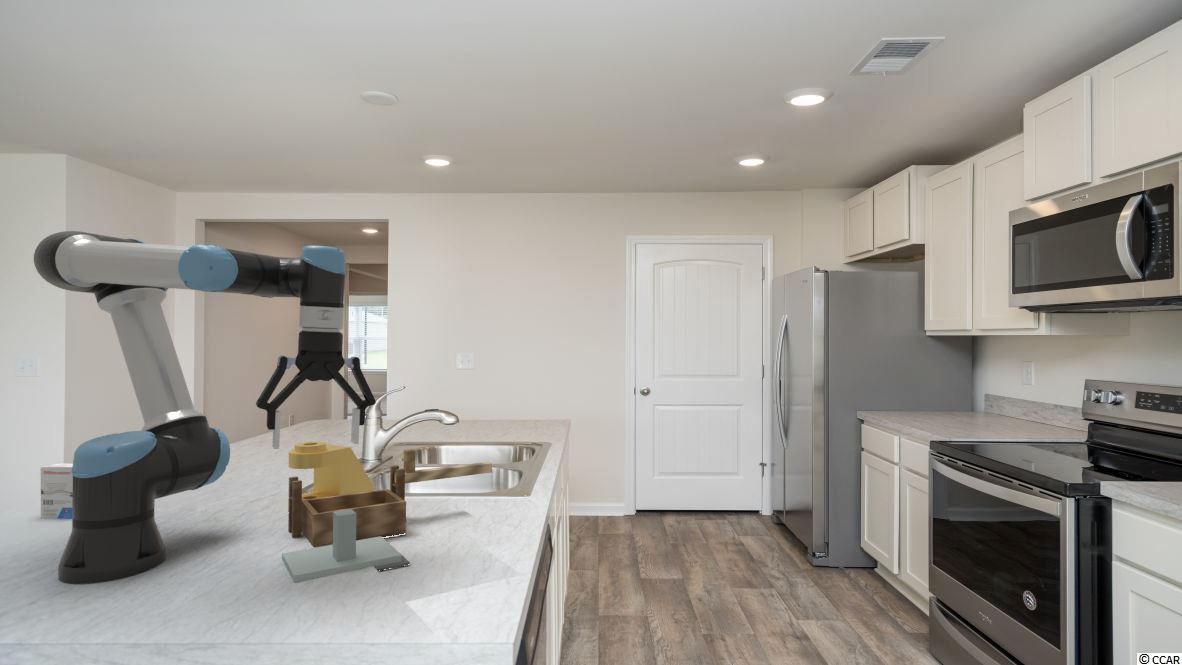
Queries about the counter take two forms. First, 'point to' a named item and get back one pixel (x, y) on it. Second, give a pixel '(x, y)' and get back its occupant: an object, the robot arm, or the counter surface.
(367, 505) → the wooden rack
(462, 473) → the key
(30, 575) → the counter surface
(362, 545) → the lid
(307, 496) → the yellow clevis bracket
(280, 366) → the robot arm
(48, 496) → the ink box
